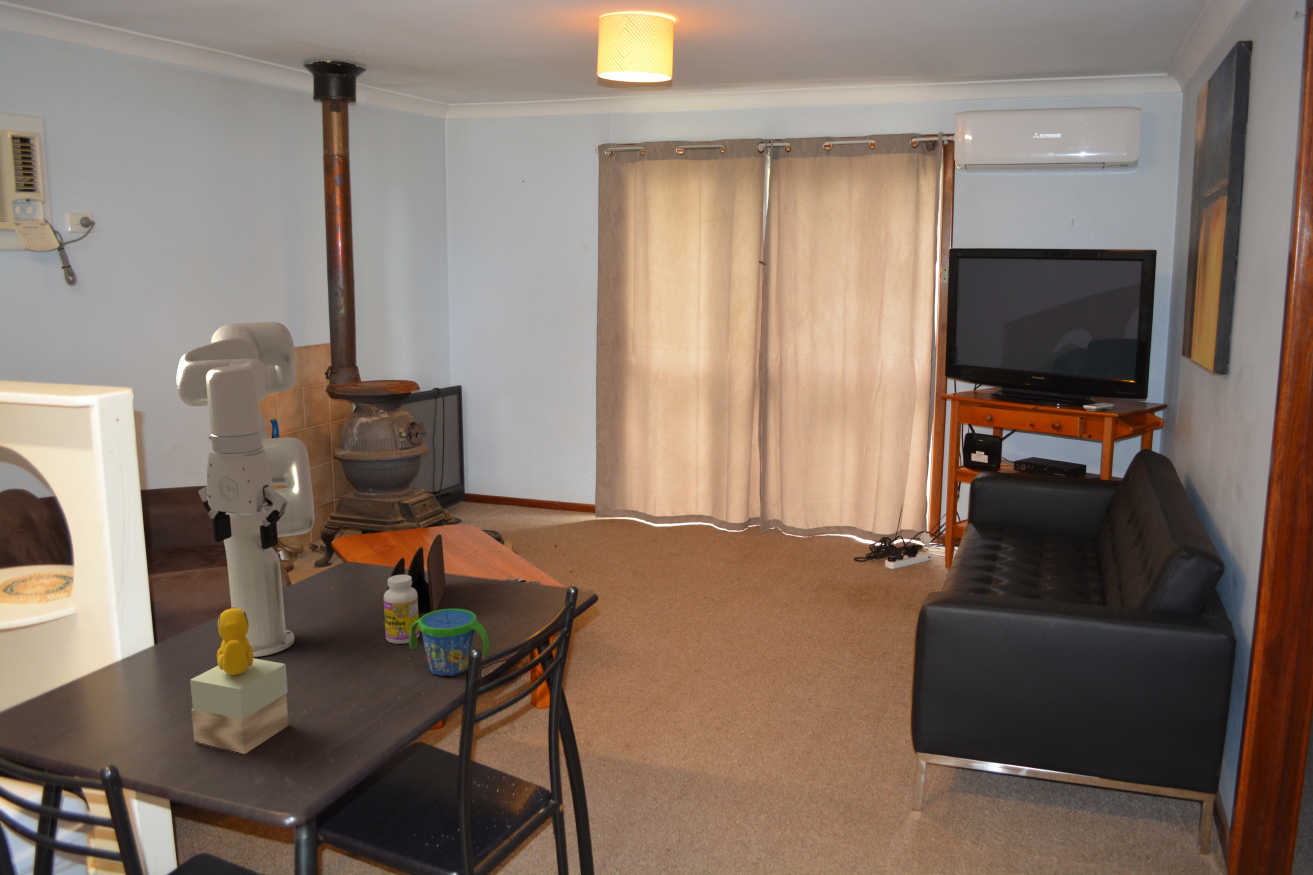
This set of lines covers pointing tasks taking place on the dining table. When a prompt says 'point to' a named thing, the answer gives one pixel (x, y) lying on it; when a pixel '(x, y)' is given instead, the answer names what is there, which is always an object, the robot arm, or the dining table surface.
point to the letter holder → (436, 584)
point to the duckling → (234, 642)
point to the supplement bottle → (400, 609)
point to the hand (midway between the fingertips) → (246, 543)
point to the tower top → (239, 689)
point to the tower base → (240, 727)
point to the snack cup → (448, 639)
